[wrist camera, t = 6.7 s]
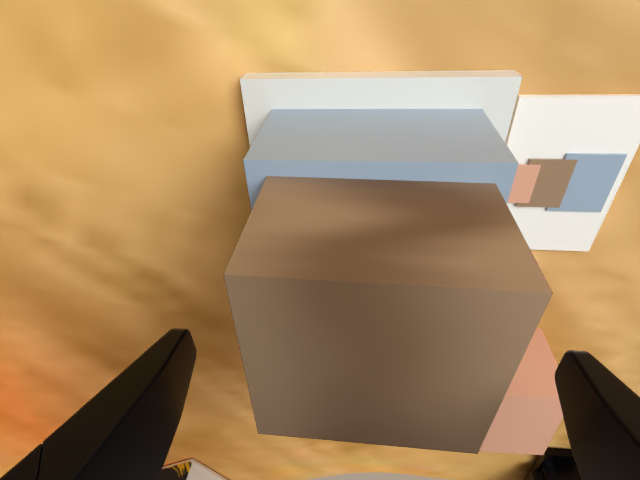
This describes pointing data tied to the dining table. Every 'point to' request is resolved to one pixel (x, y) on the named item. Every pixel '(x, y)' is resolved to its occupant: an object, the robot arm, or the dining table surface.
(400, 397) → the walnut brick
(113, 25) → the dining table surface
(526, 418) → the terracotta brick
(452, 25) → the dining table surface
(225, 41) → the dining table surface
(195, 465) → the medicine bottle
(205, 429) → the dining table surface
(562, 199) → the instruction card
